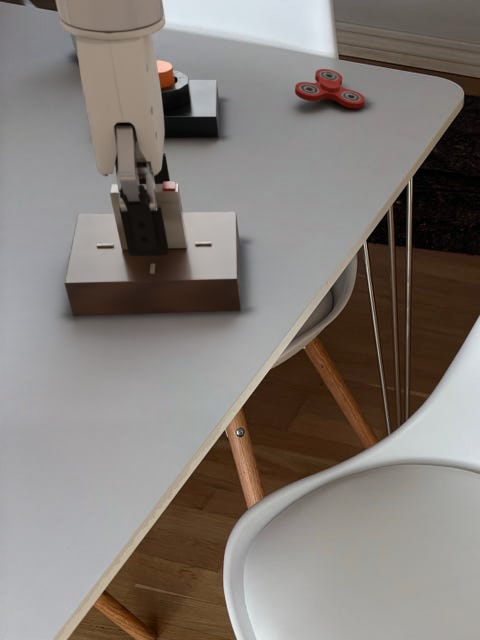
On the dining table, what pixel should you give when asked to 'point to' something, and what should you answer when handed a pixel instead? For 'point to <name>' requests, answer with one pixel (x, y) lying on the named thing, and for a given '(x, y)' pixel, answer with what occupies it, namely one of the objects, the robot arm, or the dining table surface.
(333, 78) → the fidget spinner
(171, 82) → the button
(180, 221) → the red-tipped white slab
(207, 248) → the panel
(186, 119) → the button block
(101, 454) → the dining table surface
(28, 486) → the dining table surface
